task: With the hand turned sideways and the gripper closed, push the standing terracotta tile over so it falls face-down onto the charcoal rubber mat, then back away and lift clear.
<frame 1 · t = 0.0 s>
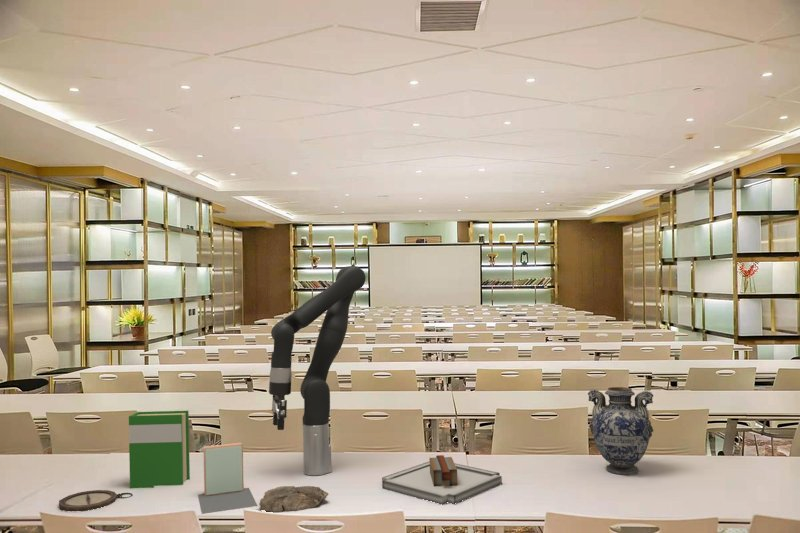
hand: (278, 427, 226), 17 cm above the table, tool pointing down, fingers open, 8 cm apart
hardback book: (160, 484, 222), on the table
terracotta tile: (224, 492, 209), point 1 cm above the table, touching rubber mat
grey square tray: (441, 487, 213), on the table
compass: (92, 504, 204), on the table
decorative vase: (622, 471, 223), on the table
clay tablet: (295, 505, 198), on the table
rubber mat: (226, 501, 201), on the table
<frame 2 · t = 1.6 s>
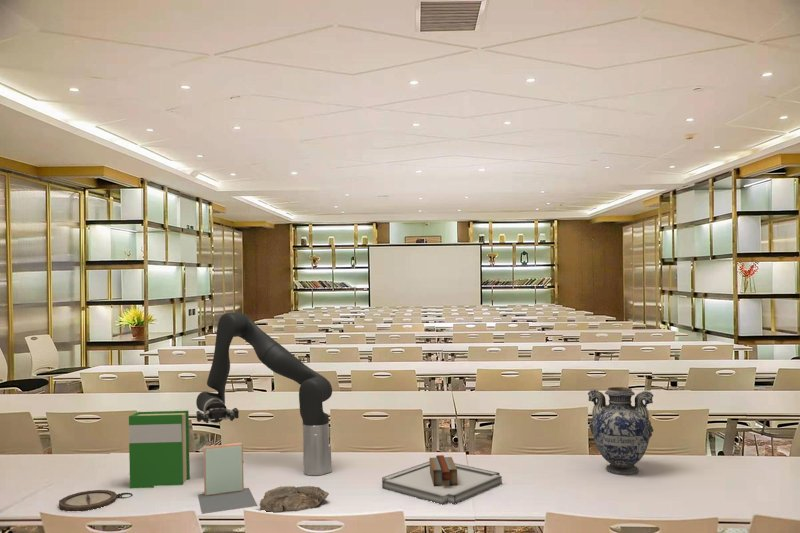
hand: (219, 418, 218), 22 cm above the table, tool horizontal, fingers open, 7 cm apart
nothing on the table moved.
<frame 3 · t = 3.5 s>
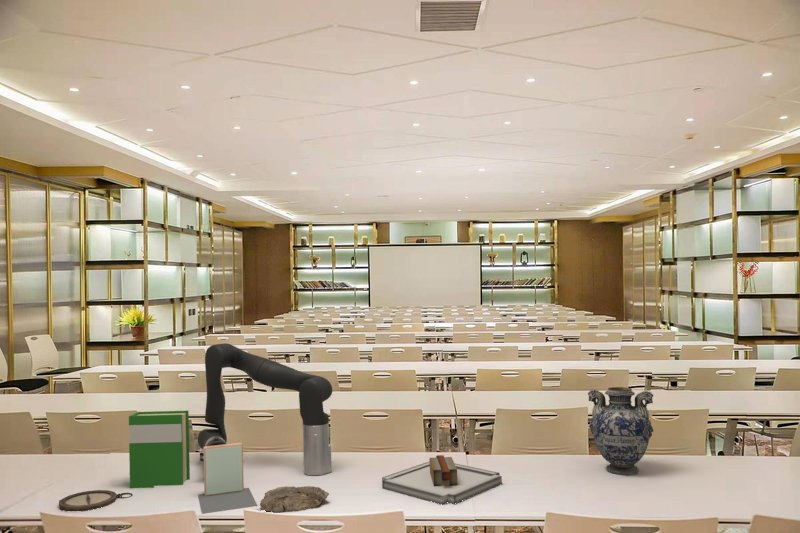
hand: (220, 461, 215), 9 cm above the table, tool horizontal, fingers closed
nothing on the table moved.
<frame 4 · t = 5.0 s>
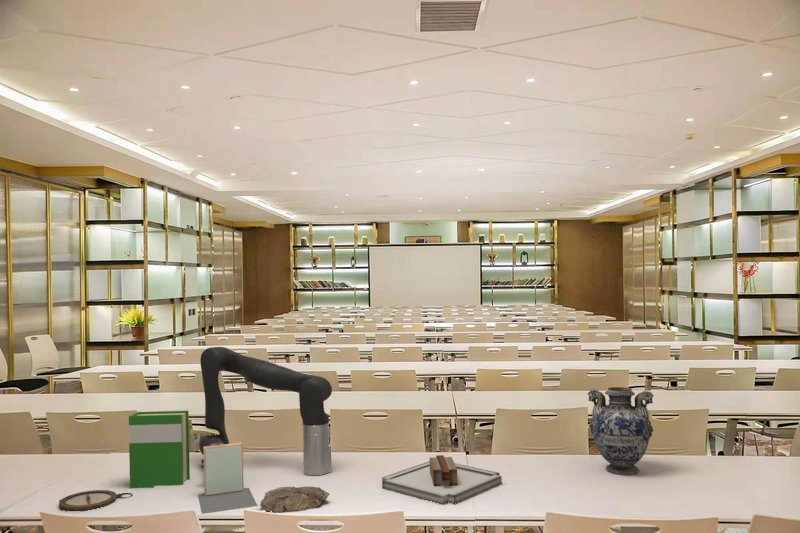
hand: (223, 468, 210), 8 cm above the table, tool horizontal, fingers closed
terracotta tile: (224, 492, 209), point 1 cm above the table, touching gripper, rubber mat
everything else where it was.
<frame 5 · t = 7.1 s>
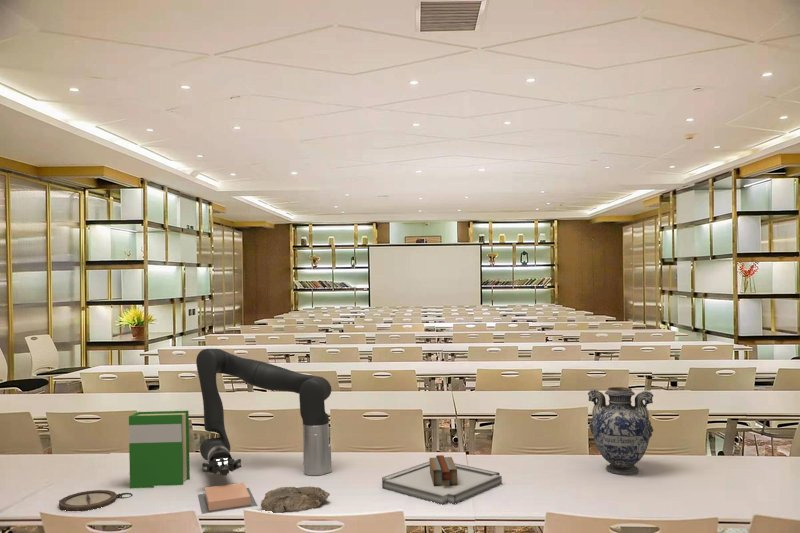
hand: (224, 472, 206), 8 cm above the table, tool horizontal, fingers closed
terracotta tile: (224, 489, 207), point 2 cm above the table, tilted 90°, touching rubber mat
everything else where it was.
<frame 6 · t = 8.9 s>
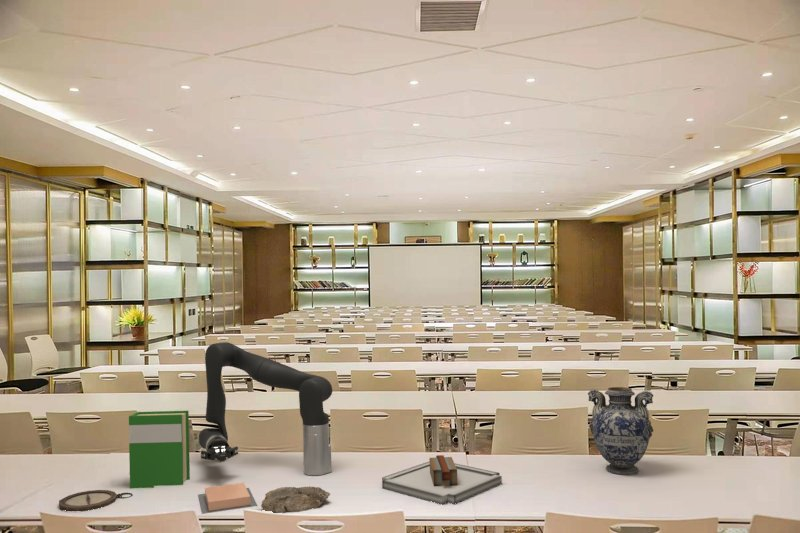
hand: (222, 458, 215), 10 cm above the table, tool horizontal, fingers closed
nothing on the table moved.
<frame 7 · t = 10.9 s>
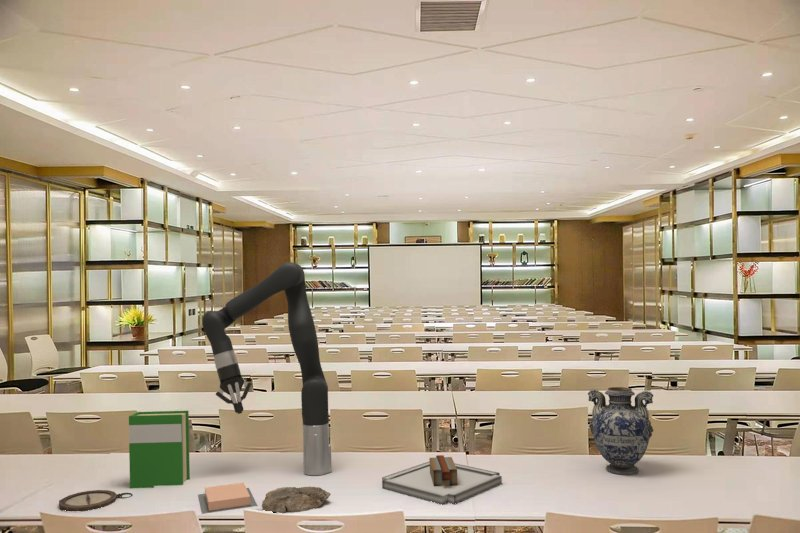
hand: (240, 413, 227), 22 cm above the table, tool tilted 20°, fingers closed
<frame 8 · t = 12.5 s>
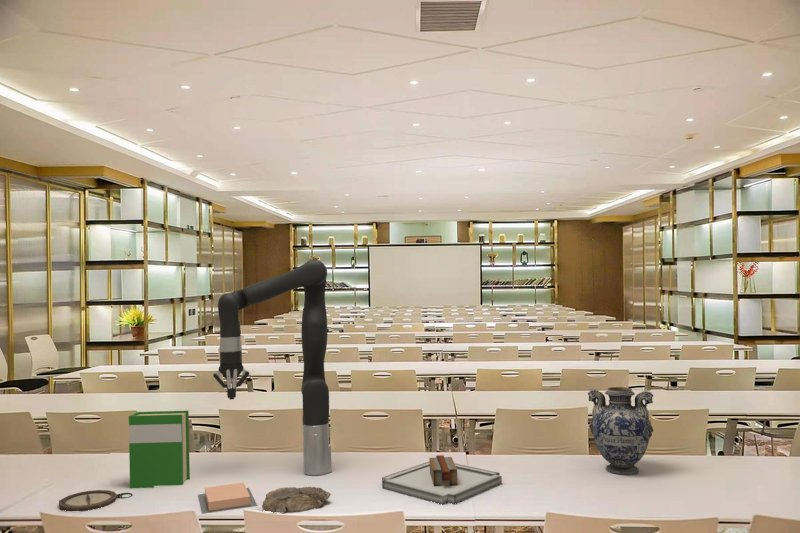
hand: (231, 399, 229), 27 cm above the table, tool pointing down, fingers closed
at the end: terracotta tile tilted 90°; terracotta tile inside the target area (2.9 cm from its centre), point 2.1 cm above the table; terracotta tile touching rubber mat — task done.
